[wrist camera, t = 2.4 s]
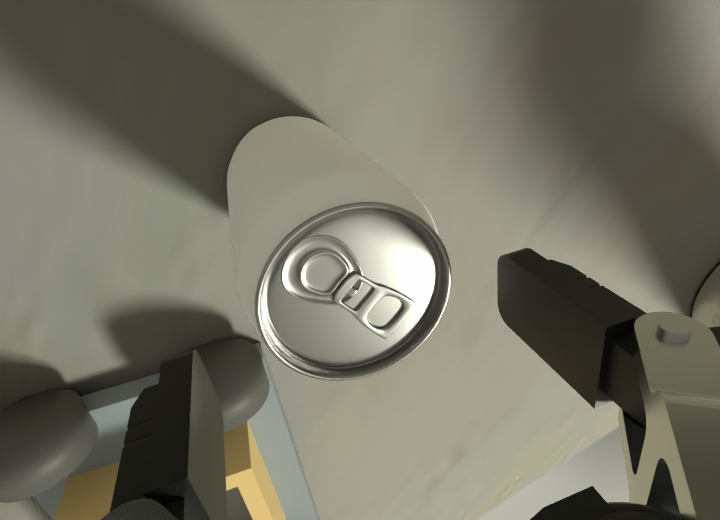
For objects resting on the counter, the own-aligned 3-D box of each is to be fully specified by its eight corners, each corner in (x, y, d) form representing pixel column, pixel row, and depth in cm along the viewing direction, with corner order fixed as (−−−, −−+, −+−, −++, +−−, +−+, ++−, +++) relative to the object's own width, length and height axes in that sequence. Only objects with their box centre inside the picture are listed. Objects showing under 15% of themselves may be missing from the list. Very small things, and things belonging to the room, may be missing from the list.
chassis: (255, 328, 26) (264, 387, 21) (322, 527, 35) (337, 595, 31) (-11, 407, 23) (-62, 491, 19) (139, 598, 33) (128, 683, 28)
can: (278, 84, 20) (344, 131, 10) (378, 167, 24) (506, 267, 13) (199, 195, 22) (185, 339, 11) (304, 260, 25) (369, 419, 14)
